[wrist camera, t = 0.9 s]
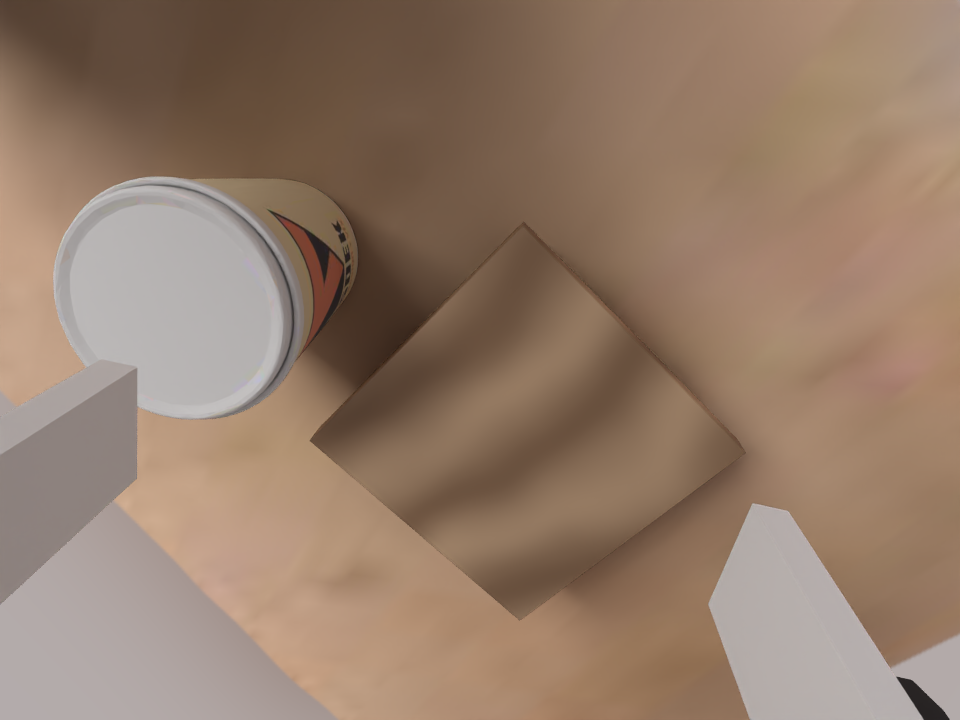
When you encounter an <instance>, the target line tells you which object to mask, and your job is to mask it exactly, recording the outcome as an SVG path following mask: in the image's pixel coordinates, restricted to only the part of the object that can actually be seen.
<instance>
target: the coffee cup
mask: <svg viewBox="0 0 960 720" xmlns="http://www.w3.org/2000/svg"><path fill="white" fill-rule="evenodd" d="M357 267H358V250H357V243H356V239H355V236H354V233H353V230H352V228H351V226H350V223H349V221H348V220H347V218H346V216H345V215H344V213H343V212H342V211H341V209H340V208H339V207H338V206H337V205H336V204H335V203H334V202H333V201H332V200H331V199H330V198H329V197H328V196H326V195H325V194H323V193H322V192H321V191H319V190H317V189H315V188H314V187H311V186H309V185H307V184H304V183H301V182H297V181H293V180H287V179H271V178H234V179H183V178H176V177H144V178H138V179H133V180H129V181H126V182H123V183H120V184H118V185H115V186H113V187H111V188H109V189H107V190H105V191H103V192H102V193H100V194H99V195H97V196H96V197H94V198H93V199H92V200H91V201H90V202H89V203H88V204H87V205H85V206H84V207H83V209H82V210H81V211H80V212H79V214H78V215H77V216H76V217H75V219H74V221H73V222H72V224H71V225H70V227H69V228H68V230H67V231H66V233H65V234H64V236H63V239H62V241H61V243H60V246H59V249H58V252H57V255H56V260H55V266H54V280H53V283H54V297H55V303H56V307H57V312H58V316H59V320H60V322H61V325H62V327H63V329H64V332H65V334H66V336H67V338H68V340H69V343H70V344H71V346H72V347H73V349H74V350H75V352H76V354H77V355H78V357H79V358H80V359H81V361H82V362H83V364H84V365H85V366H86V367H88V366H90V365H92V364H94V363H95V362H97V361H99V360H101V359H103V360H108V361H112V362H117V363H121V364H126V365H130V366H135V367H137V407H139V408H141V409H144V410H146V411H149V412H152V413H155V414H158V415H162V416H166V417H171V418H177V419H216V418H222V417H227V416H231V415H234V414H237V413H240V412H242V411H245V410H247V409H249V408H251V407H253V406H254V405H256V404H258V403H260V402H261V401H262V400H264V399H265V398H266V397H268V396H269V395H270V394H271V393H272V392H273V391H274V390H275V389H276V388H277V387H278V386H279V385H280V384H281V382H282V381H283V380H284V379H285V377H286V376H287V374H288V372H289V371H290V369H291V368H292V366H293V364H294V362H295V361H296V360H297V359H298V357H299V356H300V355H301V354H302V353H303V351H304V350H305V349H306V348H307V346H308V345H309V344H310V343H311V342H312V340H313V339H314V338H315V337H316V335H317V334H318V333H319V332H320V331H321V329H322V328H323V327H324V325H325V324H326V323H327V322H328V320H329V319H330V318H331V317H332V315H333V314H334V313H335V312H336V310H337V309H338V308H339V307H340V305H341V304H342V302H343V301H344V299H345V298H346V296H347V295H348V293H349V292H350V290H351V288H352V286H353V283H354V280H355V277H356V273H357Z"/></svg>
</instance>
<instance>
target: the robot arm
mask: <svg viewBox="0 0 960 720" xmlns="http://www.w3.org/2000/svg"><path fill="white" fill-rule="evenodd" d="M136 479H137V367H135V366H130V365H126V364H121V363H117V362H112V361H108V360H103V359H101V360H99V361H97V362H95V363H94V364H92V365H90V366H88V367H87V368H85V369H83V370H81V371H80V372H78V373H76V374H74V375H72V376H71V377H69V378H67V379H65V380H64V381H62V382H60V383H58V384H57V385H55V386H53V387H51V388H50V389H48V390H46V391H44V392H43V393H41V394H39V395H37V396H36V397H34V398H32V399H30V400H29V401H27V402H25V403H23V404H22V405H20V406H18V407H16V408H14V409H13V410H11V411H9V412H7V413H6V414H4V415H2V416H0V604H1V603H2V602H3V601H5V600H6V599H7V598H8V597H9V596H10V595H11V594H12V593H13V592H14V591H15V590H16V589H18V588H19V587H20V586H21V585H22V584H23V583H24V582H25V581H26V580H27V579H28V578H29V577H31V576H32V575H33V574H34V573H35V572H36V571H37V570H38V569H39V568H40V567H41V566H42V565H44V563H46V562H47V561H48V560H49V559H50V558H51V557H52V556H53V555H54V554H55V553H56V552H58V551H59V550H60V549H61V548H62V547H63V546H64V545H65V544H66V543H67V542H68V541H70V540H71V539H72V538H73V537H74V536H75V535H76V534H77V533H78V532H79V531H80V530H81V529H82V528H84V527H85V526H86V525H87V524H88V523H89V522H90V521H91V520H92V519H93V518H94V517H96V516H97V515H98V514H99V513H100V512H101V511H102V510H103V509H104V508H105V507H106V506H107V505H109V503H111V502H112V501H113V500H114V499H115V498H116V497H117V496H118V495H119V494H120V493H122V492H123V491H124V490H125V489H126V488H127V487H128V486H129V485H130V484H131V483H132V482H133V481H135V480H136ZM708 605H709V608H710V610H711V613H712V616H713V619H714V621H715V624H716V627H717V630H718V633H719V635H720V638H721V641H722V644H723V646H724V649H725V652H726V655H727V657H728V660H729V663H730V666H731V668H732V671H733V674H734V677H735V679H736V682H737V685H738V688H739V691H740V693H741V696H742V699H743V702H744V704H745V707H746V710H747V713H748V715H749V718H750V720H949V718H948V716H947V715H946V714H945V712H944V711H943V710H942V709H941V708H940V707H939V706H938V705H937V704H936V703H935V702H934V701H933V700H932V699H931V698H930V697H929V696H928V695H927V694H926V693H925V692H924V691H923V690H922V689H921V688H920V687H919V686H918V685H917V684H915V683H914V682H913V681H912V680H909V679H905V678H900V677H896V676H895V675H894V673H893V672H892V670H891V669H890V667H889V665H888V664H887V662H886V661H885V659H884V658H883V656H882V655H881V653H880V652H879V650H878V649H877V647H876V645H875V644H874V642H873V641H872V639H871V638H870V636H869V635H868V633H867V632H866V630H865V629H864V627H863V625H862V624H861V622H860V621H859V619H858V618H857V616H856V615H855V613H854V612H853V610H852V608H851V607H850V605H849V604H848V602H847V601H846V599H845V598H844V596H843V595H842V593H841V592H840V590H839V588H838V587H837V585H836V584H835V582H834V581H833V579H832V578H831V576H830V575H829V573H828V571H827V570H826V568H825V567H824V565H823V564H822V562H821V561H820V559H819V558H818V556H817V555H816V553H815V551H814V550H813V548H812V547H811V545H810V544H809V542H808V541H807V539H806V538H805V536H804V535H803V533H802V531H801V530H800V528H799V527H798V525H797V524H796V522H795V521H794V519H793V518H792V516H791V514H790V513H789V511H786V510H782V509H777V508H773V507H768V506H763V505H759V504H754V503H752V505H751V508H750V510H749V512H748V515H747V517H746V519H745V521H744V524H743V526H742V528H741V531H740V533H739V535H738V537H737V540H736V542H735V544H734V546H733V549H732V551H731V553H730V556H729V558H728V560H727V562H726V565H725V567H724V569H723V572H722V574H721V576H720V578H719V581H718V583H717V585H716V587H715V590H714V592H713V594H712V597H711V599H710V601H709V603H708Z"/></svg>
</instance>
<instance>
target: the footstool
mask: <svg viewBox="0 0 960 720" xmlns="http://www.w3.org/2000/svg"><path fill="white" fill-rule="evenodd" d="M310 441H311V442H312V443H313V444H314V445H315V446H316V447H318V448H319V449H320V450H321V451H322V452H323V453H325V454H326V455H327V456H328V457H329V458H331V459H332V460H333V461H334V462H335V463H336V464H338V465H339V466H340V467H341V468H342V469H343V470H345V471H346V472H347V473H348V474H349V475H350V476H352V477H353V478H354V479H355V480H356V481H357V482H359V483H360V484H361V485H362V486H363V487H364V488H366V489H367V490H368V491H369V492H370V493H371V494H373V495H374V496H375V497H376V498H377V499H378V500H380V501H381V502H382V503H383V504H384V505H385V506H387V507H388V508H389V509H390V510H391V511H392V512H394V513H395V514H396V515H397V516H398V517H399V518H401V519H402V520H403V521H404V522H405V523H406V524H408V525H409V526H410V527H411V528H412V529H413V530H415V531H416V532H417V533H418V534H419V535H420V536H422V537H423V538H424V539H425V540H426V541H427V542H429V543H430V544H431V545H432V546H433V547H434V548H436V549H437V550H438V551H439V552H440V553H441V554H443V555H444V556H445V557H446V558H447V559H448V560H450V561H451V562H452V563H453V564H454V565H455V566H457V567H458V568H459V569H460V570H461V571H462V572H464V573H465V574H466V575H467V576H468V577H469V578H471V579H472V580H473V581H474V582H475V583H476V584H478V585H479V586H480V587H481V588H482V589H483V590H485V591H486V592H487V593H488V594H489V595H490V596H492V597H493V598H494V599H495V600H496V601H497V602H499V603H500V604H501V605H502V606H503V607H504V608H506V609H507V610H508V611H509V612H510V613H511V614H513V615H514V616H515V617H516V618H517V619H518V620H521V619H523V618H524V617H525V616H527V615H528V614H529V613H531V612H532V611H533V610H535V609H536V608H537V607H539V606H540V605H542V604H543V603H544V602H546V601H547V600H548V599H550V598H551V597H552V596H554V595H555V594H556V593H558V592H559V591H560V590H562V589H563V588H564V587H566V586H567V585H568V584H570V583H571V582H572V581H574V580H575V579H577V578H578V577H579V576H581V575H582V574H583V573H585V572H586V571H587V570H589V569H590V568H591V567H593V566H594V565H595V564H597V563H598V562H599V561H601V560H602V559H603V558H605V557H606V556H608V555H609V554H610V553H612V552H613V551H614V550H616V549H617V548H618V547H620V546H621V545H622V544H624V543H625V542H626V541H628V540H629V539H630V538H632V537H633V536H634V535H636V534H637V533H638V532H640V531H641V530H643V529H644V528H645V527H647V526H648V525H649V524H651V523H652V522H653V521H655V520H656V519H657V518H659V517H660V516H661V515H663V514H664V513H665V512H667V511H668V510H669V509H671V508H672V507H674V506H675V505H676V504H678V503H679V502H680V501H682V500H683V499H684V498H686V497H687V496H688V495H690V494H691V493H692V492H694V491H695V490H696V489H698V488H699V487H700V486H702V485H703V484H704V483H706V482H707V481H709V480H710V479H711V478H713V477H714V476H715V475H717V474H718V473H719V472H721V471H722V470H723V469H725V468H726V467H727V466H729V465H730V464H731V463H733V462H734V461H735V460H737V459H738V458H740V457H741V456H742V455H744V454H745V453H746V452H745V451H744V449H743V448H742V446H741V445H740V443H739V441H738V440H737V438H736V437H735V436H734V435H733V434H732V433H731V432H730V431H729V430H728V429H727V428H726V427H725V426H724V425H723V424H722V423H721V422H720V421H719V420H718V419H717V418H716V417H715V416H714V415H713V414H712V413H711V412H710V411H709V410H708V409H707V408H706V407H705V406H704V405H703V404H702V403H701V402H700V401H699V400H698V399H697V398H696V397H695V396H694V395H693V394H692V392H691V391H690V390H689V389H688V388H687V387H686V386H685V385H684V384H683V383H682V382H681V381H680V380H679V379H678V378H677V377H676V376H675V375H674V374H673V373H672V372H671V371H670V370H669V369H668V368H667V367H666V366H665V365H664V364H663V363H662V362H661V361H660V360H659V359H658V358H657V357H656V356H655V355H654V354H653V353H652V352H651V351H650V350H649V349H648V348H647V347H646V346H645V345H644V344H643V343H642V342H641V341H640V340H639V339H638V338H637V336H636V335H635V334H634V333H633V332H632V331H631V330H630V329H629V328H628V327H627V326H626V325H625V324H624V323H623V322H622V321H621V320H620V319H619V318H618V317H617V316H616V315H615V314H614V313H613V312H612V311H611V310H610V309H609V308H608V307H607V306H606V305H605V304H604V303H603V302H602V301H601V300H600V299H599V298H598V297H597V296H596V295H595V294H594V293H593V292H592V291H591V290H590V289H589V288H588V287H587V286H586V285H585V284H584V283H583V282H582V281H581V279H580V278H579V277H578V276H577V275H576V274H575V273H574V272H573V271H572V270H571V269H570V268H569V267H568V266H567V265H566V264H565V263H564V262H563V261H562V260H561V259H560V258H559V257H558V256H557V255H556V254H555V253H554V252H553V251H552V250H551V249H550V248H549V247H548V246H547V245H546V244H545V243H544V242H543V241H542V240H541V239H540V238H539V237H538V236H537V235H536V234H535V233H534V232H533V231H532V230H531V229H530V228H529V227H528V226H527V225H526V223H525V222H523V223H522V224H521V225H520V226H519V227H518V228H517V229H516V230H515V231H514V232H513V233H512V234H511V235H510V236H509V237H508V238H507V239H506V240H505V241H504V242H503V243H502V244H501V245H500V246H499V247H498V248H497V249H496V250H495V251H494V252H493V253H492V254H491V255H490V256H489V257H488V258H487V259H486V260H485V261H484V262H483V263H482V264H481V265H480V266H479V267H478V268H477V269H476V270H475V271H474V272H473V273H472V274H471V275H470V276H469V277H468V278H467V279H466V280H465V281H464V282H463V283H462V284H461V285H460V287H459V288H458V289H457V290H456V291H455V292H454V293H453V294H452V295H451V296H450V297H449V298H448V299H447V300H446V301H445V302H444V303H443V304H442V305H441V306H440V307H439V308H438V309H437V310H436V311H435V312H434V313H433V314H432V315H431V316H430V317H429V318H428V319H427V320H426V321H425V322H424V323H423V324H422V325H421V326H420V327H419V328H418V329H417V330H416V331H415V332H414V333H413V334H412V335H411V336H410V337H409V338H408V339H407V340H406V341H405V342H404V343H403V344H402V345H401V346H400V347H399V348H398V349H397V350H396V351H395V352H394V353H393V354H392V355H391V356H390V357H389V358H388V359H387V360H386V361H385V362H384V363H383V364H382V365H381V366H380V367H379V368H378V369H377V370H376V371H375V372H374V373H373V374H372V375H371V376H370V377H369V378H368V379H367V380H366V381H365V382H364V383H363V384H362V385H361V386H360V387H359V388H358V389H357V390H356V391H355V392H354V393H353V394H352V395H351V396H350V397H349V398H348V399H347V400H346V401H345V402H344V403H343V404H342V405H341V406H340V407H339V408H338V409H337V410H336V411H335V412H334V413H333V414H332V415H331V416H330V417H329V418H328V419H327V420H326V421H325V422H324V423H323V424H322V425H321V426H320V427H319V429H318V430H317V432H316V433H315V434H314V436H313V437H312V438H311V440H310Z"/></svg>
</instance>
